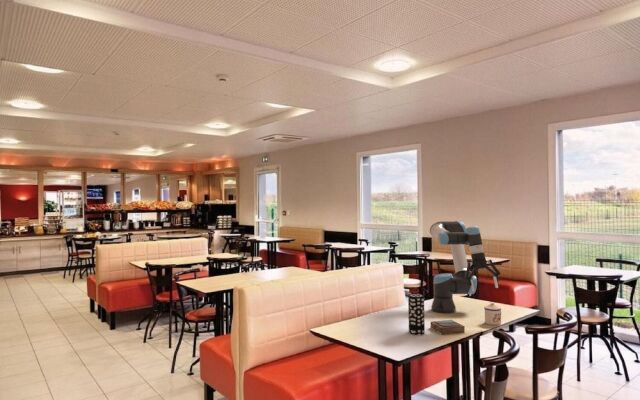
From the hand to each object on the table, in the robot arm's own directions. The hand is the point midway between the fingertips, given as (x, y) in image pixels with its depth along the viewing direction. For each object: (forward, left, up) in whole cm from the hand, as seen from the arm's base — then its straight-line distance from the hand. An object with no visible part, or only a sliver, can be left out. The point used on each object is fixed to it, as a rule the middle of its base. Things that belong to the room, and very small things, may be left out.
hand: (485, 289), depth 244 cm
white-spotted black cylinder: (+7, -46, -19) cm, 51 cm away
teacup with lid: (+1, +5, -19) cm, 20 cm away
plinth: (+7, -28, -19) cm, 35 cm away
